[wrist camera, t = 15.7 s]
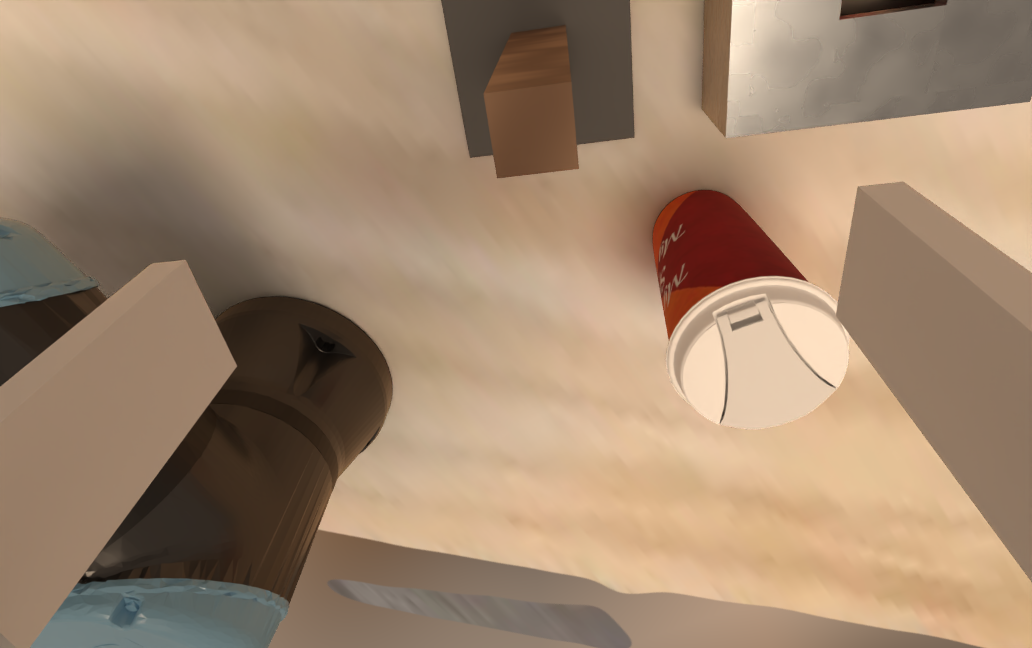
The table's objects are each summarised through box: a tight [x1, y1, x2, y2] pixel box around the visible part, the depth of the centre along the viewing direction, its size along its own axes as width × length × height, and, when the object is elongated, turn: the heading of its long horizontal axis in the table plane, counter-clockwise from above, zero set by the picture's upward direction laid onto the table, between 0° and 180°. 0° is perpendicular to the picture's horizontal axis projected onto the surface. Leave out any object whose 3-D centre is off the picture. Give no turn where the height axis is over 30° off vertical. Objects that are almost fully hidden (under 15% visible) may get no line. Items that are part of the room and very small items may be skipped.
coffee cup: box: [653, 190, 850, 429], centre depth 33 cm, size 8×8×15 cm
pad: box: [441, 0, 634, 158], centre depth 34 cm, size 10×10×1 cm
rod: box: [484, 25, 579, 178], centre depth 27 cm, size 3×3×15 cm
